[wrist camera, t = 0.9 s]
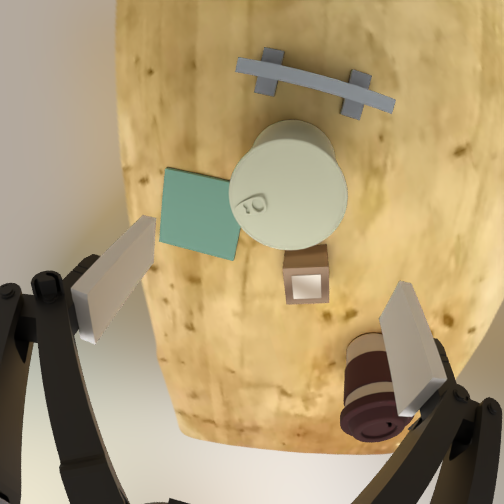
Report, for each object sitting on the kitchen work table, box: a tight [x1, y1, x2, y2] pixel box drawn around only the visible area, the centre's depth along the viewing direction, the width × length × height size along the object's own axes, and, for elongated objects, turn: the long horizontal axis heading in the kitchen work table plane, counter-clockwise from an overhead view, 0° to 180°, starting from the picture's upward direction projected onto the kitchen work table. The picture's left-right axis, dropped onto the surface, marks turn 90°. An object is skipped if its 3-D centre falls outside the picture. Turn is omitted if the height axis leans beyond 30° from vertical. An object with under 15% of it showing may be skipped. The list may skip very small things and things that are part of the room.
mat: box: [159, 167, 241, 261], centre depth 38 cm, size 10×10×1 cm
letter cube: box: [283, 244, 329, 304], centre depth 38 cm, size 5×5×5 cm
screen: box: [235, 47, 396, 120], centre depth 25 cm, size 5×12×10 cm, turn 79°
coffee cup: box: [340, 333, 414, 442], centre depth 40 cm, size 10×10×15 cm
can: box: [229, 120, 348, 250], centre depth 29 cm, size 9×9×12 cm
